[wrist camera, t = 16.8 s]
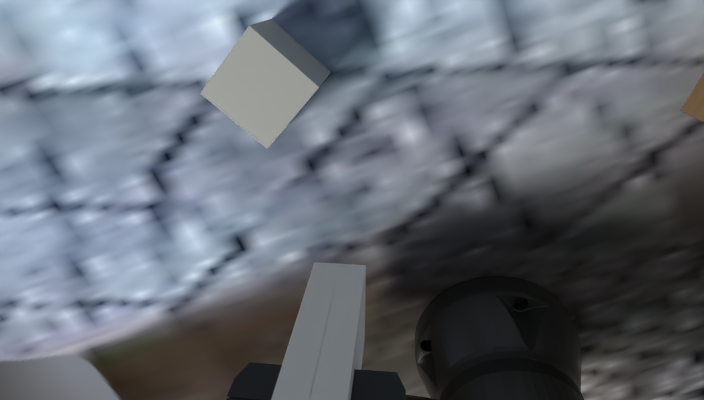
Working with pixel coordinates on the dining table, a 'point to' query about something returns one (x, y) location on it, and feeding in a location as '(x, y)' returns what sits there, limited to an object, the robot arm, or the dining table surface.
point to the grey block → (265, 81)
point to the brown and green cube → (696, 101)
